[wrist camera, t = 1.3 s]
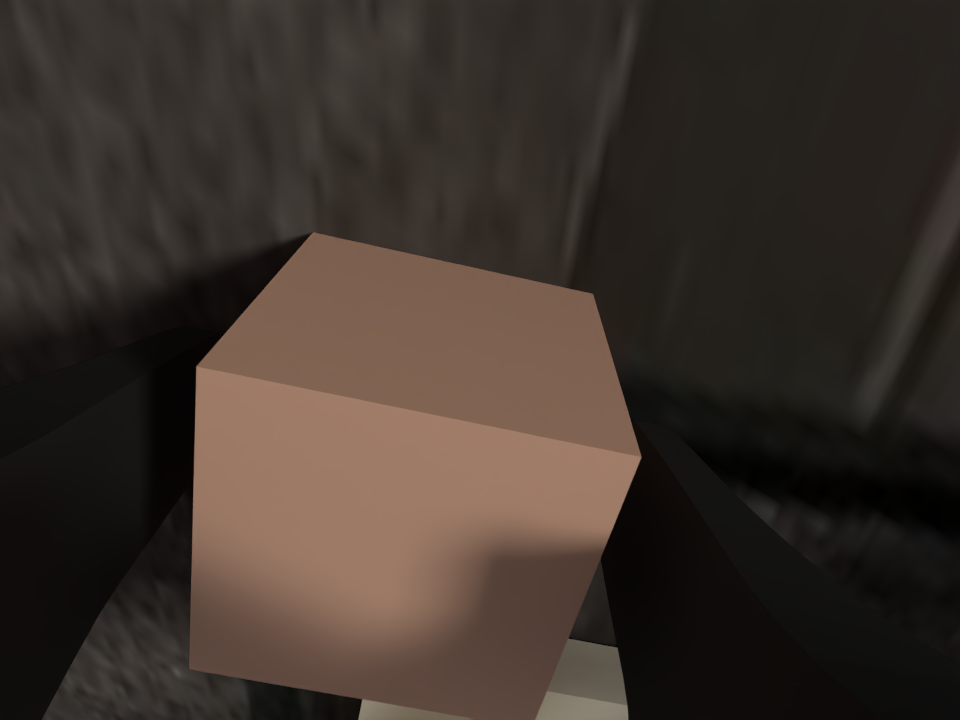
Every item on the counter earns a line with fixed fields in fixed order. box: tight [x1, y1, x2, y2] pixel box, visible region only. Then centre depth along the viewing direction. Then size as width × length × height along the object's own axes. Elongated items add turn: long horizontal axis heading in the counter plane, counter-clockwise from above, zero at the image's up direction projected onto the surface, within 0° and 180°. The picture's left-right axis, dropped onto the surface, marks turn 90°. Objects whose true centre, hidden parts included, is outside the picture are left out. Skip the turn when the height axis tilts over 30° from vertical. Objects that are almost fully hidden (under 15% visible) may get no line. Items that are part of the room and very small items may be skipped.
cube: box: [189, 233, 641, 720], centre depth 11 cm, size 5×5×5 cm
